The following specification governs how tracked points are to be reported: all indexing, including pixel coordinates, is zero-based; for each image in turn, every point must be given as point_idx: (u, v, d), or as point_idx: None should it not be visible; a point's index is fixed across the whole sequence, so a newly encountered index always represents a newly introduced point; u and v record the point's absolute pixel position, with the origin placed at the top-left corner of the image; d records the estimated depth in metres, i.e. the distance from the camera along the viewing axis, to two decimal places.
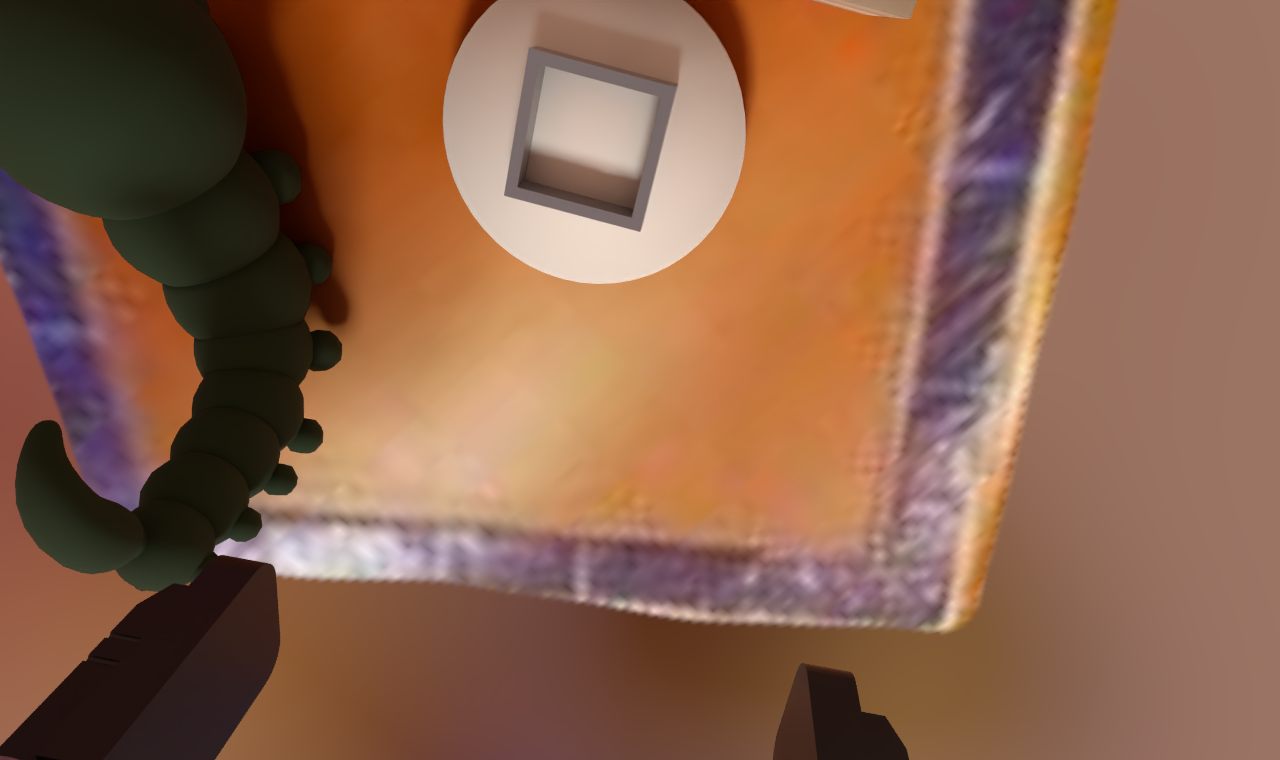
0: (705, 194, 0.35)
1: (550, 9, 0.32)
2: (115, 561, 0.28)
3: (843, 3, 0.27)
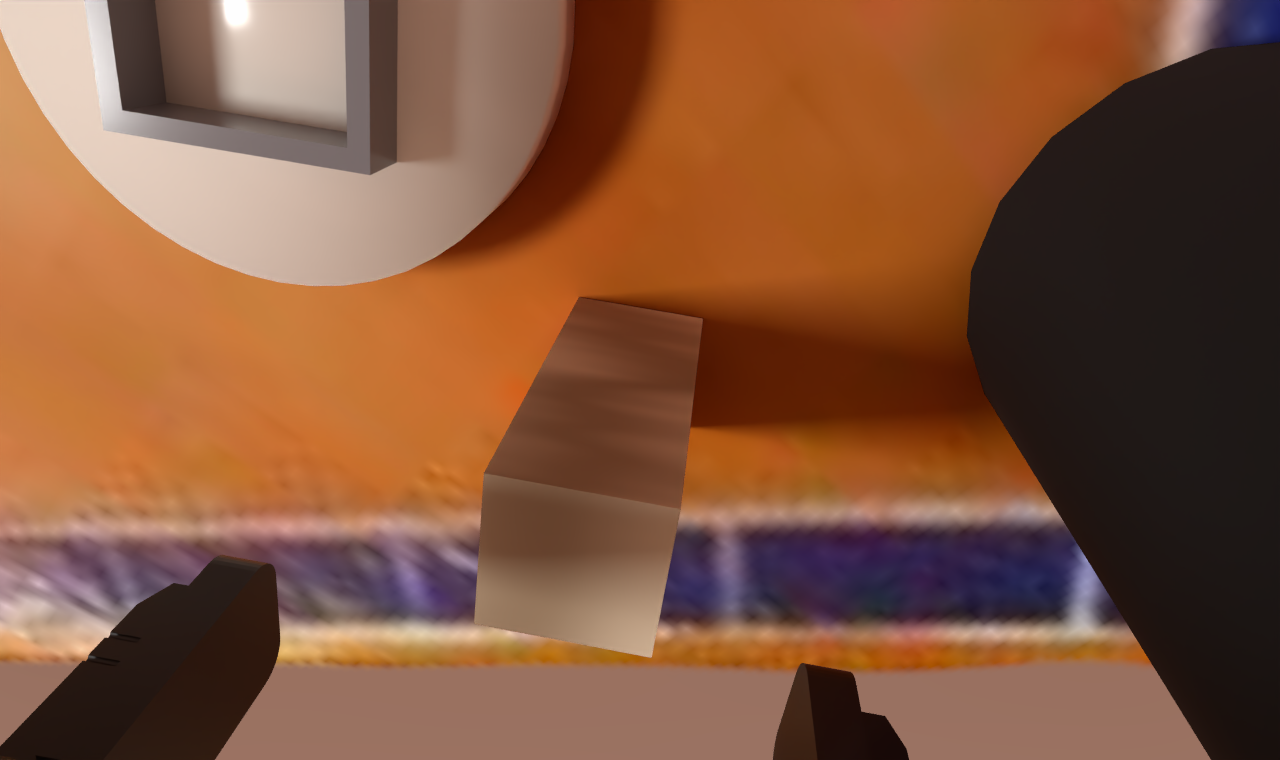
0: (235, 229, 0.20)
1: None
2: None
3: None
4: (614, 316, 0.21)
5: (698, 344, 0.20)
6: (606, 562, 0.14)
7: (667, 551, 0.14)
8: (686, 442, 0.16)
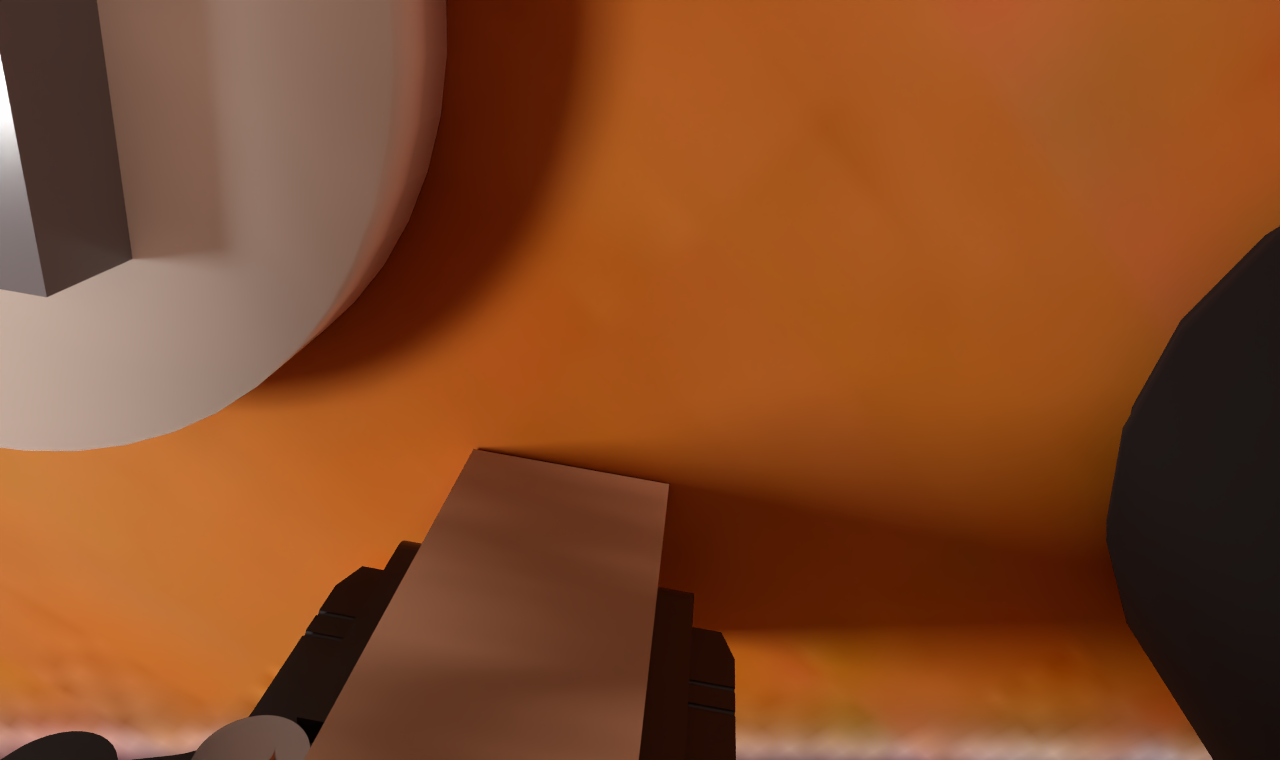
0: None
1: None
2: None
3: None
4: (525, 490, 0.13)
5: (659, 549, 0.12)
6: None
7: None
8: None
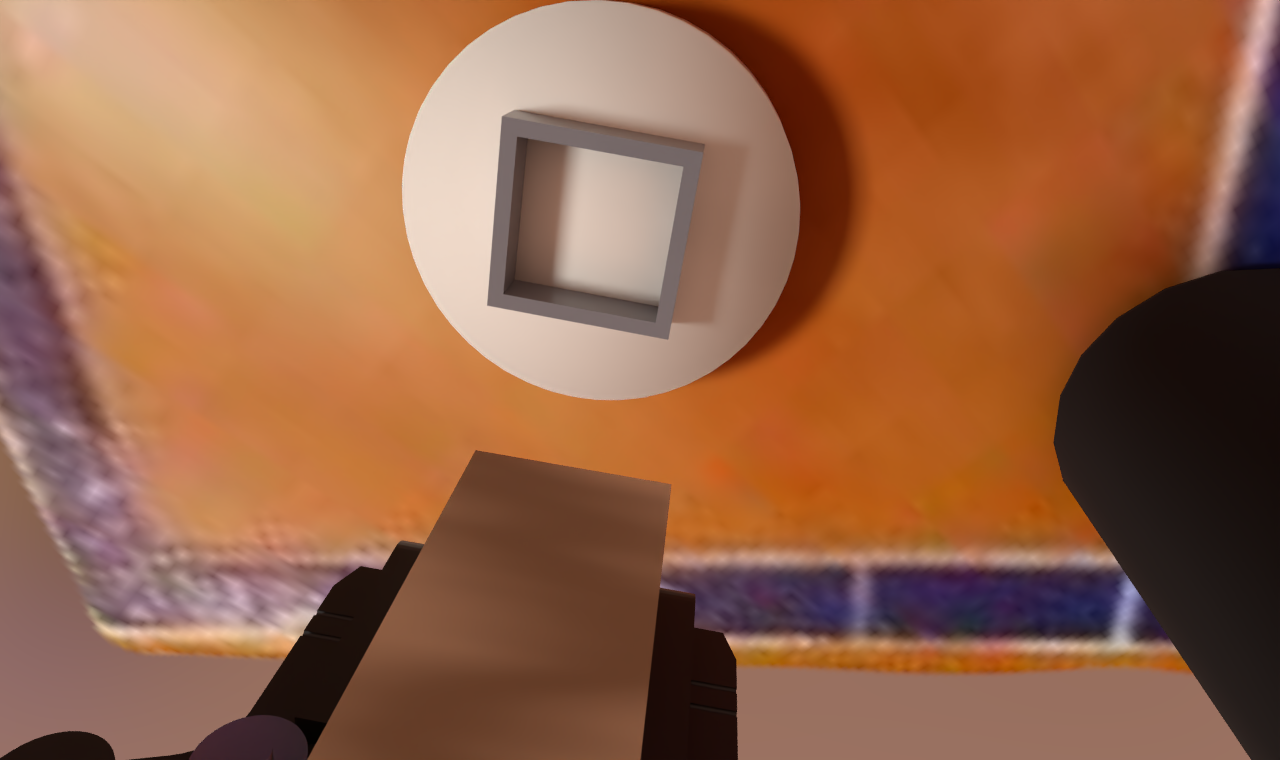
0: (547, 361, 0.29)
1: (750, 162, 0.25)
2: None
3: None
4: (527, 491, 0.13)
5: (661, 550, 0.12)
6: None
7: None
8: None
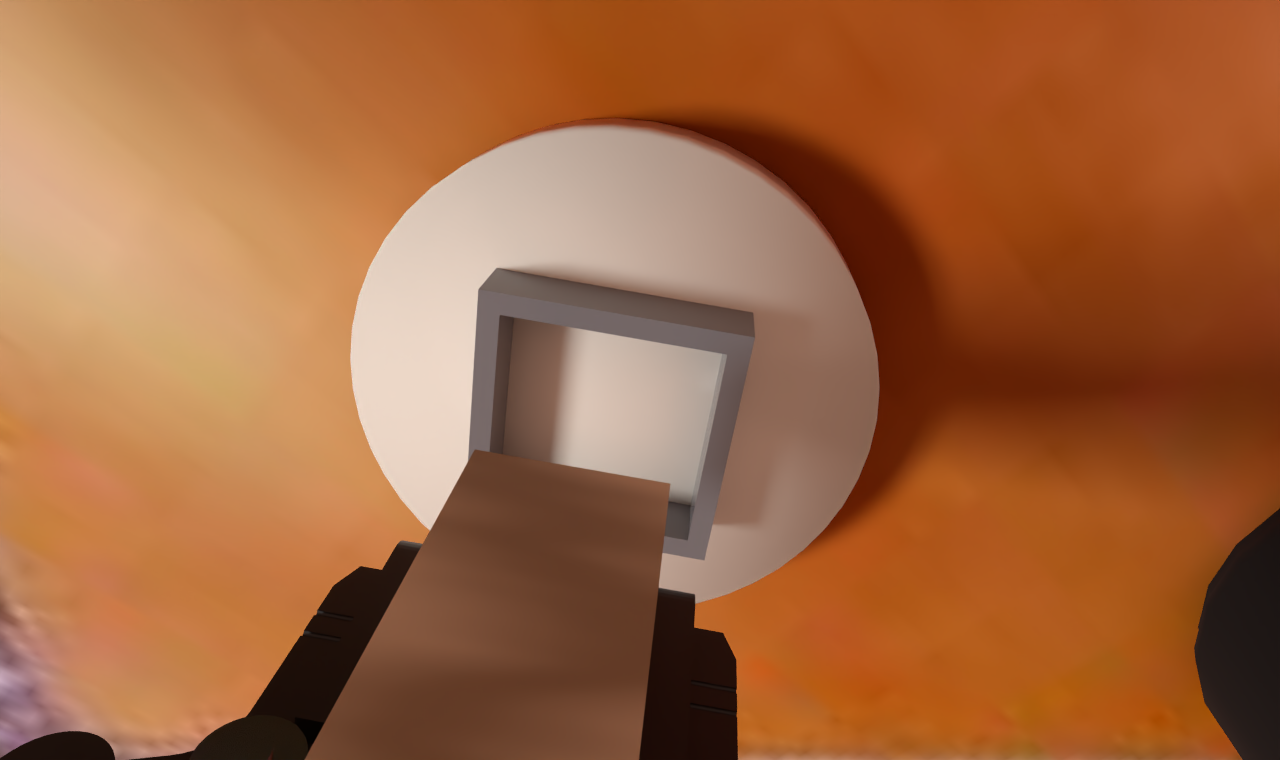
0: None
1: (814, 335, 0.19)
2: None
3: None
4: (526, 490, 0.13)
5: (660, 549, 0.12)
6: None
7: None
8: None
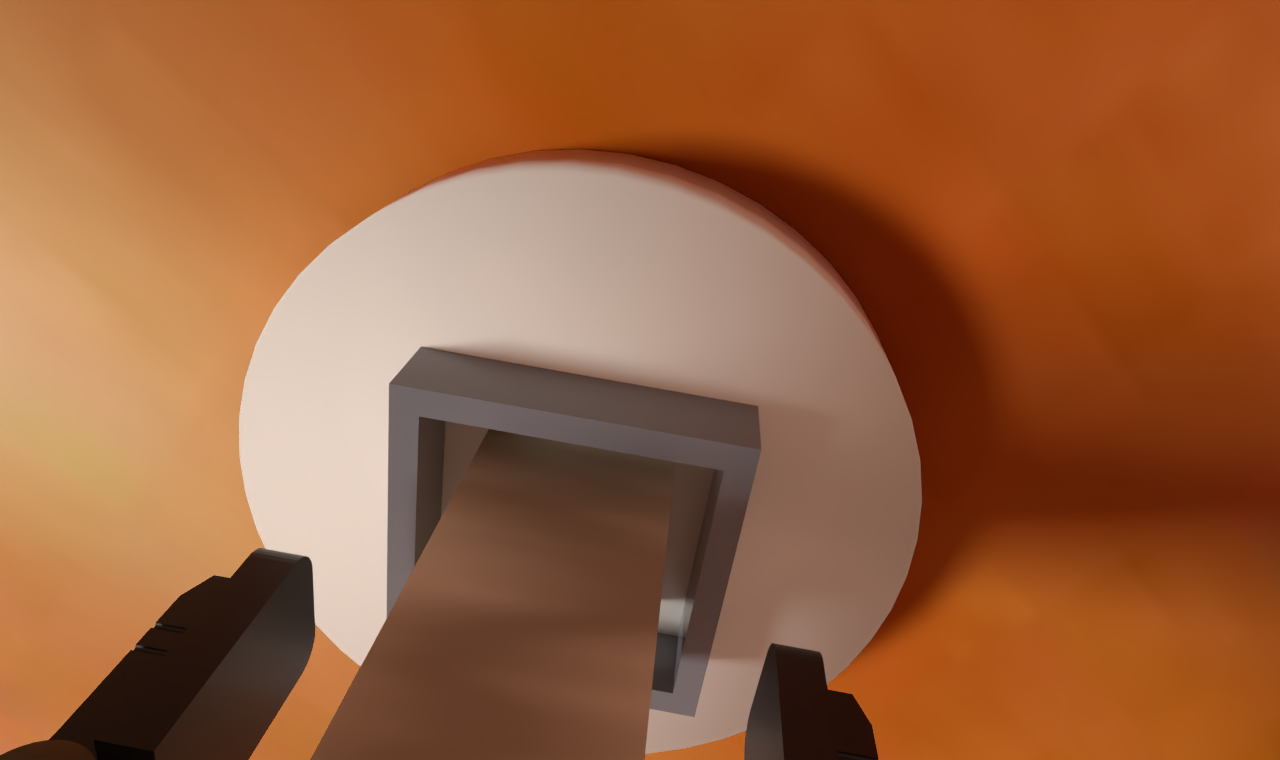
0: None
1: (837, 435, 0.14)
2: None
3: None
4: (541, 459, 0.14)
5: (667, 513, 0.13)
6: None
7: None
8: None
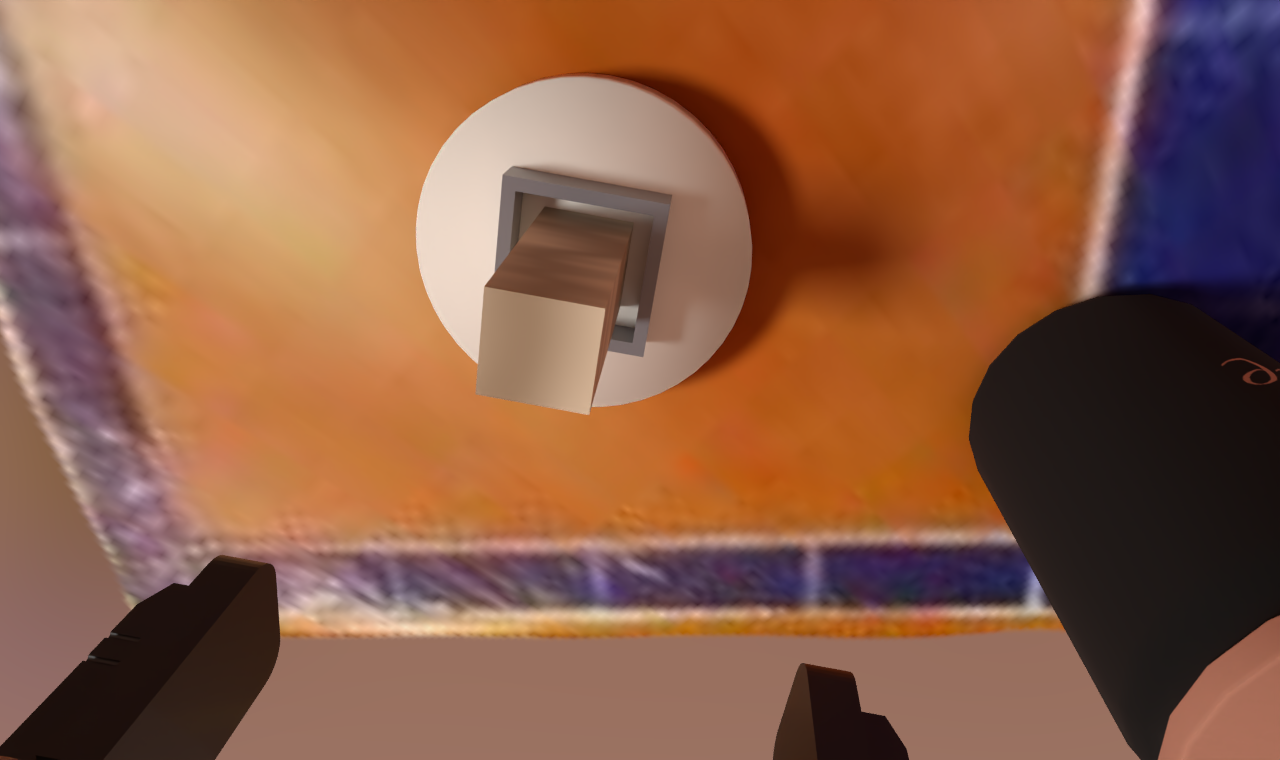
0: None
1: (710, 209, 0.30)
2: None
3: None
4: (570, 217, 0.29)
5: (628, 235, 0.29)
6: (560, 347, 0.23)
7: (597, 338, 0.23)
8: (613, 281, 0.24)
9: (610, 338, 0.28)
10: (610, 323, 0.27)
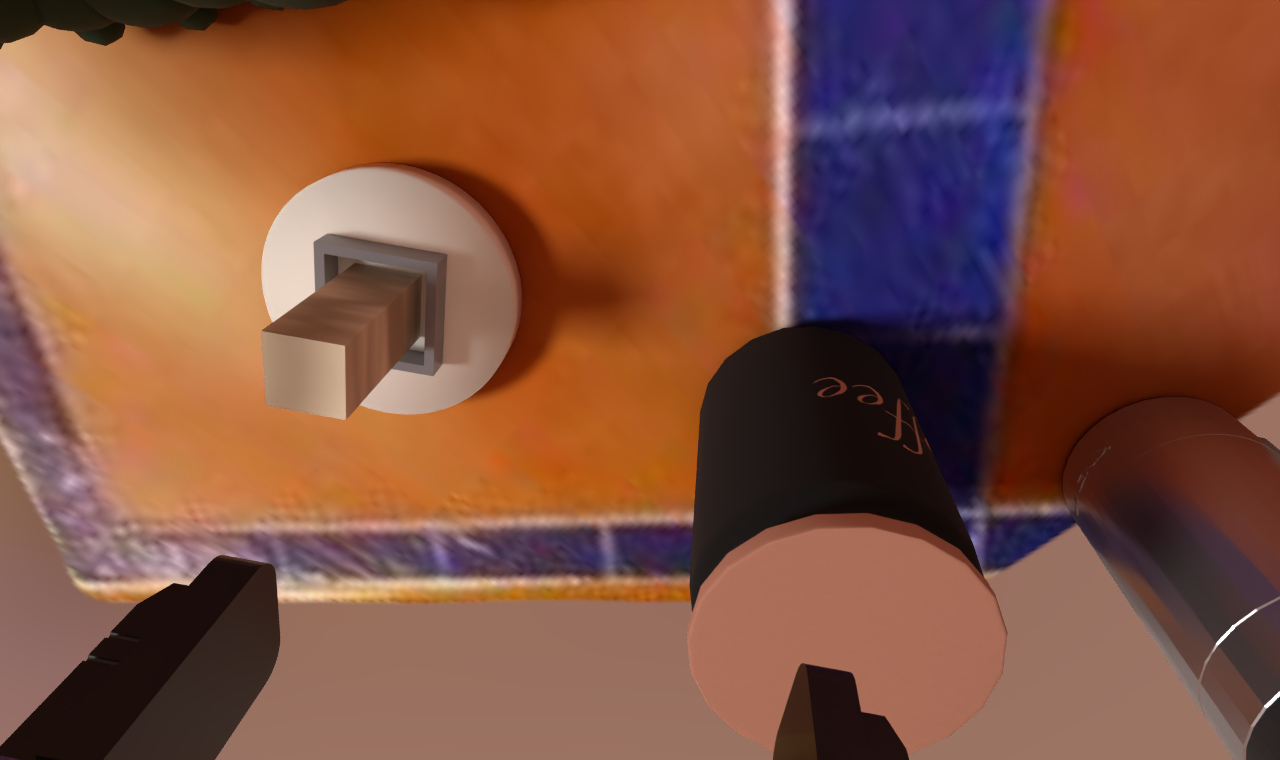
0: None
1: (476, 265, 0.40)
2: None
3: None
4: (369, 272, 0.39)
5: (408, 286, 0.38)
6: (318, 372, 0.33)
7: (343, 366, 0.32)
8: (366, 324, 0.34)
9: (393, 363, 0.38)
10: (381, 353, 0.36)
